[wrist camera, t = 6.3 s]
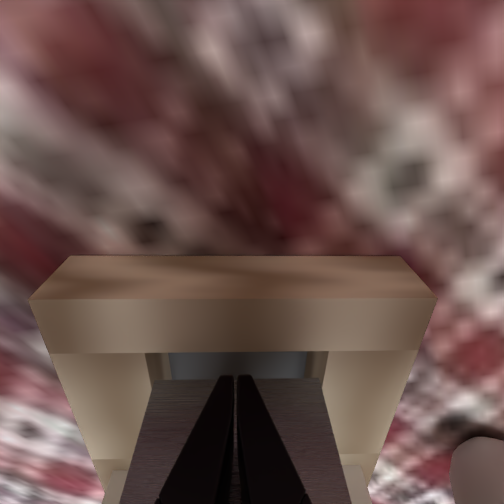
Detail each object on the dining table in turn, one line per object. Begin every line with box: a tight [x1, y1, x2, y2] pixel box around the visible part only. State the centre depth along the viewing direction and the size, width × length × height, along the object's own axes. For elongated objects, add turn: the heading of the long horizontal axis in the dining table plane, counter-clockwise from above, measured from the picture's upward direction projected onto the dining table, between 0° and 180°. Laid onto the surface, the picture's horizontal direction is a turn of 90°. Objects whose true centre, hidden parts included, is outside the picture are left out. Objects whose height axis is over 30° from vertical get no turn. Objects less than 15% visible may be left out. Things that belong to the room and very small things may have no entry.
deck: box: [28, 256, 438, 492], centre depth 19 cm, size 14×29×3 cm, turn 179°
